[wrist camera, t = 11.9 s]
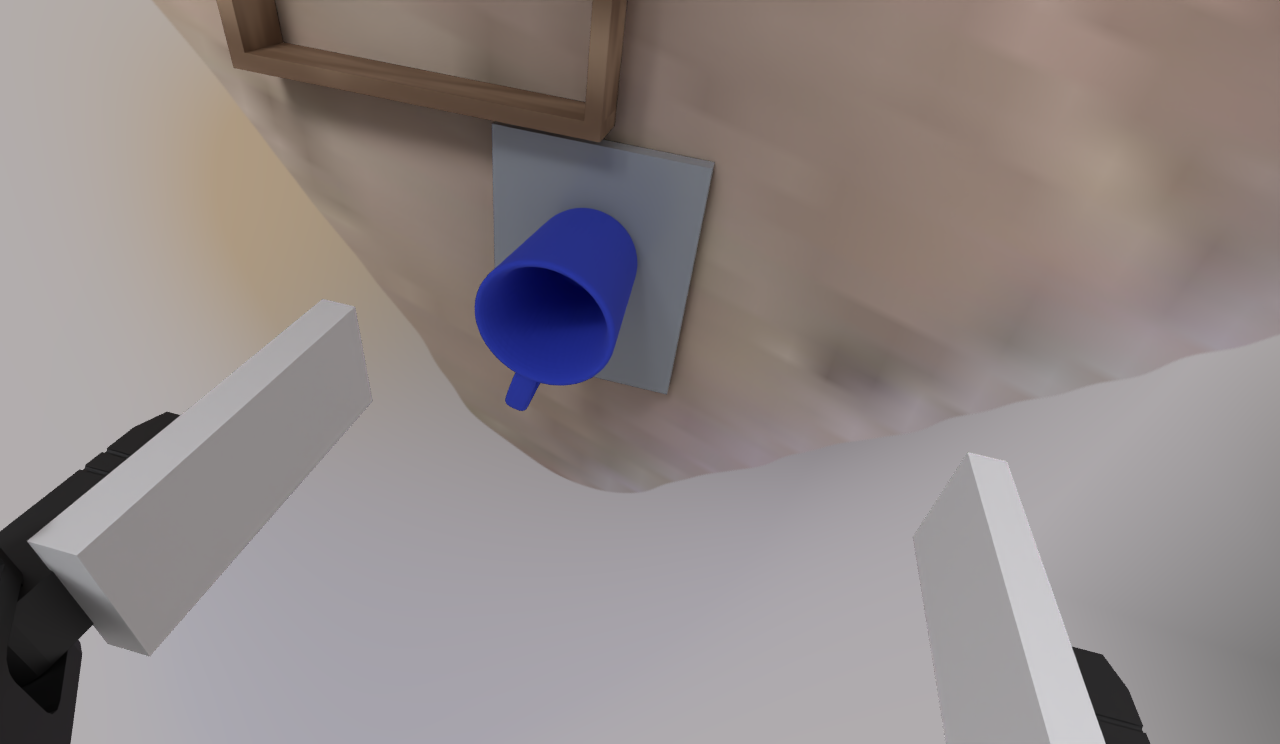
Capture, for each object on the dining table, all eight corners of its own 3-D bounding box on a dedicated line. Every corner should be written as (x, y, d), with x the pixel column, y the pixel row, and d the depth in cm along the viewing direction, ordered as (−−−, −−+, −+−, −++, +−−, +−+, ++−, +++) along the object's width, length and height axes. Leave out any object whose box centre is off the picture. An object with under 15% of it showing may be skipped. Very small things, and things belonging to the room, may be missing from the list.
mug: (507, 310, 47) (447, 392, 40) (554, 169, 40) (492, 235, 32) (606, 357, 48) (566, 446, 40) (670, 226, 40) (637, 305, 33)
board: (499, 118, 40) (491, 123, 39) (714, 162, 39) (712, 168, 38) (502, 345, 51) (496, 353, 50) (669, 385, 50) (666, 394, 49)
